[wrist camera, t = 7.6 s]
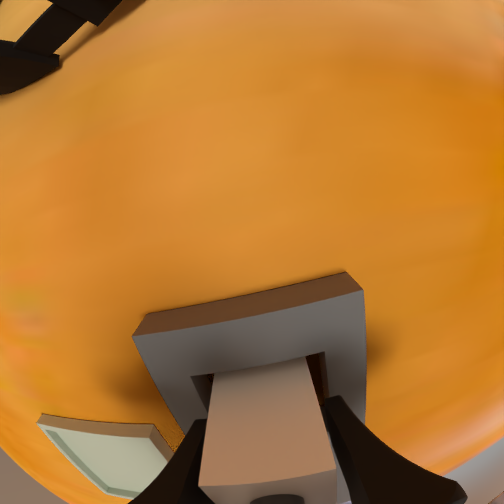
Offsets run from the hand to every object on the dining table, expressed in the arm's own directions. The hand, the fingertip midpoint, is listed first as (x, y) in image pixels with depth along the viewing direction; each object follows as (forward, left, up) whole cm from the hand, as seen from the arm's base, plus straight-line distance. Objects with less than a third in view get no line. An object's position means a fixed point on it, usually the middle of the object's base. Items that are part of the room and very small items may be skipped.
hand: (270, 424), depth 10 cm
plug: (0, 0, -3) cm, 3 cm away
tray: (-8, +13, -3) cm, 16 cm away
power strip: (-5, 0, -3) cm, 6 cm away
